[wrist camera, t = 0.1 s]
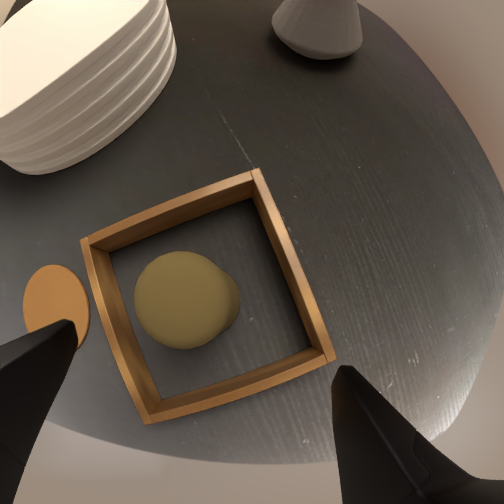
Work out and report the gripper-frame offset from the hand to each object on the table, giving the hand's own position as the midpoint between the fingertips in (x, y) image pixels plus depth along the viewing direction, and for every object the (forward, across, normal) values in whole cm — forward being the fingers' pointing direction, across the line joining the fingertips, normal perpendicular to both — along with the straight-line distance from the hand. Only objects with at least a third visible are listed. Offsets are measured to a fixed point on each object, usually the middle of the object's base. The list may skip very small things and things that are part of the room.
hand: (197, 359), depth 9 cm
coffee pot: (+34, -3, -24) cm, 42 cm away
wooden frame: (+14, +2, +7) cm, 16 cm away
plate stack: (+27, +24, -13) cm, 39 cm away
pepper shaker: (+14, +2, +7) cm, 16 cm away
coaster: (+12, +17, +10) cm, 23 cm away
